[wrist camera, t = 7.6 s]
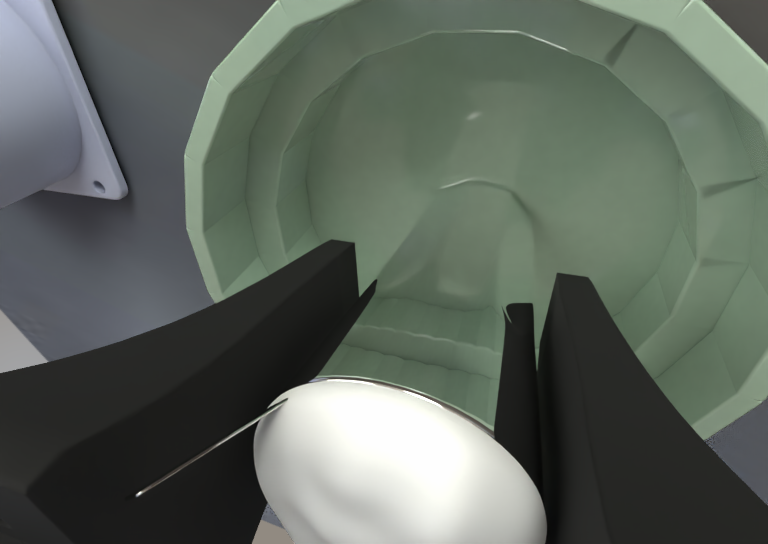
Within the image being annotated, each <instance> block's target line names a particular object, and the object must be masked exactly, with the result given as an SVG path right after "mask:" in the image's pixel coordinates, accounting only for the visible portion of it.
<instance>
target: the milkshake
mask: <svg viewBox="0 0 768 544" xmlns="http://www.w3.org/2000/svg"><path fill="white" fill-rule="evenodd" d="M258 420H260V421H259V423H258V425H257V428H256V431H255V436H254V462H255V469H256V474H257V478H258V481H259V485H260V487H261V490H262V492H263V494H264V496H265V498H266V500H267V502H268V503H269V505H270V506H271V508H272V510H273V511H274V513H275V514H276V516H277V517H278V519H279V520H280V522H281V523H282V525H283V527H284V528H285V530H286V531H287V533H288V535H289V536H290V538H291V539H292V541H293V542H294V543H295V544H545V542H546V535H547V520H546V514H545V506H544V484H543V465H542V446H541V428H540V410H539V392H538V378H537V367H536V355H535V339H534V221H533V219H532V218H531V216H530V215H529V214H528V213H527V212H526V210H525V209H524V208H523V207H522V206H521V204H520V203H519V202H518V201H517V199H516V198H515V197H514V196H513V195H512V193H511V192H509V191H505V190H501V189H498V188H494V187H491V186H487V185H484V184H480V183H477V182H471V183H468V184H465V185H462V186H459V187H456V188H453V189H450V190H446V191H443V192H440V193H439V194H438V195H437V196H436V198H435V199H434V200H433V202H432V203H431V204H430V206H429V207H428V208H427V210H426V211H425V212H424V214H423V215H422V216H421V218H420V219H419V220H418V222H417V223H416V224H415V226H414V227H413V229H412V230H411V231H410V233H409V234H408V235H407V237H406V238H405V239H404V241H403V242H402V243H401V245H400V246H399V247H398V249H397V250H396V251H395V253H394V254H393V255H392V257H391V258H390V259H389V261H388V262H387V263H386V265H385V266H384V267H383V269H382V270H381V271H380V272H379V274H378V275H377V276H376V278H375V279H374V280H373V281H372V283H371V284H370V285H369V286H368V288H367V289H366V290H365V291H364V292H363V294H362V295H361V296H360V297H359V298H358V299H357V301H356V302H355V303H354V304H353V305H352V306H351V308H350V309H349V310H348V311H347V312H346V313H345V315H344V316H343V317H342V318H341V319H340V320H339V322H338V323H337V324H336V325H335V326H334V328H333V329H332V330H331V331H330V333H329V334H328V335H327V336H326V337H325V339H324V340H323V341H322V342H321V343H320V345H319V346H318V347H317V348H316V349H315V351H314V352H313V353H312V354H311V356H310V357H309V358H308V359H307V360H306V362H305V363H304V364H303V365H302V366H301V368H300V369H299V370H298V371H297V373H296V374H295V375H294V376H293V377H292V379H291V380H290V381H289V382H288V384H287V385H286V386H285V387H284V388H283V390H282V391H281V392H280V393H279V395H278V396H277V397H276V398H275V400H274V401H273V402H272V403H271V404H270V405H269V407H268V408H267V409H266V410H264V411H262V412H261V413H259V414H258V415H256V416H254V417H253V418H251V419H250V420H248V421H246V422H245V423H243V424H242V425H240V426H238V427H237V428H235V429H234V430H232V431H230V432H229V433H227V434H226V435H224V436H222V437H221V438H219V439H218V440H216V441H214V442H213V443H211V444H210V445H208V446H206V447H205V448H203V449H201V450H200V451H198V452H197V453H195V454H193V455H192V456H190V457H189V458H187V459H185V460H184V461H182V462H181V463H179V464H177V465H176V466H174V467H173V468H171V469H169V470H168V471H166V472H165V473H163V474H161V475H160V476H158V477H157V478H155V479H153V480H152V481H150V482H149V483H147V484H145V485H144V486H142V487H140V488H139V489H137V490H136V491H134V492H132V493H131V494H129V495H128V496H126V497H125V501H130V500H132V499H135V498H137V497H139V496H140V495H142V494H144V493H145V492H147V491H148V490H150V489H151V488H153V487H155V486H156V485H158V484H159V483H161V482H162V481H164V480H166V479H167V478H169V477H170V476H172V475H173V474H175V473H177V472H178V471H180V470H181V469H183V468H184V467H186V466H188V465H189V464H191V463H192V462H194V461H195V460H197V459H199V458H200V457H202V456H203V455H205V454H206V453H208V452H210V451H211V450H213V449H214V448H216V447H217V446H219V445H221V444H222V443H224V442H225V441H227V440H228V439H230V438H232V437H233V436H235V435H236V434H238V433H239V432H241V431H243V430H244V429H246V428H247V427H249V426H250V425H252V424H254V423H255V422H257V421H258Z"/></svg>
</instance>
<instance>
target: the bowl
mask: <svg viewBox="0 0 768 544" xmlns="http://www.w3.org/2000/svg"><path fill="white" fill-rule="evenodd" d="M184 174H185V207H186V227H187V233H188V236H189V238H190V241H191V244H192V247H193V250H194V253H195V256H196V259H197V262H198V265H199V268H200V271H201V274H202V276H203V279H204V282H205V285H206V288H207V291H208V292H209V295H210V296H211V298H212V299H213V301H214V302H215V304H216V303H218V302H220V301H222V300H224V299H226V298H228V297H230V296H232V295H233V294H235V293H237V292H239V291H241V290H243V289H245V288H247V287H248V286H250V285H252V284H254V283H256V282H258V281H260V280H262V279H263V278H265V277H267V276H269V275H270V274H272V273H274V272H275V271H277V270H279V269H280V268H282V267H284V266H286V265H287V264H289V263H291V262H292V261H294V260H296V259H297V258H299V257H301V256H302V255H304V254H306V253H307V252H309V251H311V250H313V249H314V248H316V247H318V246H319V245H321V244H323V243H325V242H327V241H329V240H331V239H333V240H340V241H347V242H353V243H355V251H356V263H357V275H358V287H359V297H360V296H361V295H362V294H363V292H364V291H365V290H366V289H367V288H368V286H369V285H370V284H371V283H372V281H373V280H374V279H375V278H376V276H377V275H378V274H379V272H380V271H381V270H382V269H383V267H384V266H385V265H386V263H387V262H388V261H389V259H390V258H391V257H392V255H393V254H394V253H395V251H396V250H397V249H398V247H399V246H400V245H401V243H402V242H403V241H404V239H405V238H406V237H407V235H408V234H409V233H410V231H411V230H412V229H413V227H414V226H415V224H416V223H417V222H418V220H419V219H420V218H421V216H422V215H423V214H424V212H425V211H426V210H427V208H428V207H429V206H430V204H431V203H432V202H433V200H434V199H435V198H436V196H437V195H438V194H439V193H440V192H443V191H446V190H450V189H453V188H456V187H459V186H462V185H465V184H468V183H471V182H477V183H480V184H484V185H487V186H491V187H494V188H498V189H501V190H505V191H509V192H511V193H512V195H513V196H514V197H515V198H516V199H517V201H518V202H519V203H520V204H521V206H522V207H523V208H524V209H525V210H526V212H527V213H528V214H529V215H530V216H531V218H532V219H533V221H534V339H535V355H536V367H537V366H538V356H539V346H540V339H541V335H542V331H543V327H544V323H545V319H546V315H547V311H548V307H549V303H550V299H551V295H552V291H553V287H554V283H555V279H556V275H557V273H564V274H571V275H578V276H585V277H589V279H590V280H591V281H592V283H593V285H594V287H595V288H596V290H597V292H598V294H599V296H600V298H601V300H602V301H603V303H604V305H605V307H606V308H607V310H608V312H609V314H610V315H611V317H612V319H613V320H614V322H615V324H616V325H617V327H618V328H619V330H620V332H621V333H622V335H623V336H624V338H625V339H626V341H627V342H628V344H629V345H630V347H631V348H632V350H633V352H634V353H635V355H636V356H637V358H638V359H639V360H640V362H641V363H642V365H643V366H644V368H645V369H646V370H647V372H648V373H649V374H650V376H651V377H652V378H653V380H654V381H655V382H656V384H657V385H658V386H659V388H660V389H661V390H662V392H663V393H664V394H665V396H666V397H667V398H668V399H669V401H670V402H671V403H672V404H673V406H674V407H675V408H676V409H677V411H678V412H679V413H680V414H681V415H682V417H683V418H684V419H685V420H686V421H687V422H688V423H689V425H690V426H691V427H692V428H693V429H694V430H695V431H696V433H697V434H698V435H699V436H700V437H701V438H702V439H703V440H704V441H705V440H706V439H708V438H709V437H711V436H712V435H714V434H715V433H717V432H718V431H720V430H722V429H723V428H725V427H726V426H728V425H729V424H731V423H732V422H734V421H735V420H737V419H738V418H740V417H742V416H743V415H745V414H746V413H748V412H749V411H751V410H752V409H754V408H755V407H757V406H758V405H760V404H761V403H762V401H765V399H766V398H767V397H768V64H767V63H766V62H765V61H764V60H763V59H762V58H761V57H760V56H759V55H758V54H757V53H756V52H755V51H754V50H753V49H752V48H751V47H749V46H748V45H747V44H746V43H745V42H744V41H743V40H742V39H741V38H740V37H739V36H738V35H737V34H736V33H735V32H734V31H733V30H732V29H731V28H730V27H729V26H728V25H727V24H726V23H725V22H724V21H723V20H722V19H721V18H720V17H719V16H718V15H717V14H716V13H715V12H714V11H713V10H712V9H711V8H710V7H709V6H708V5H707V4H706V3H705V2H704V1H703V0H276V1H275V2H274V3H273V5H272V6H271V7H270V8H269V9H268V10H267V11H266V12H265V14H264V15H263V16H262V17H261V18H260V19H259V20H258V21H257V23H256V24H255V25H254V26H253V27H252V28H251V29H250V31H249V32H248V33H247V34H246V35H245V36H244V37H243V38H242V40H241V41H240V42H239V43H238V44H237V45H236V46H235V47H234V49H233V50H232V51H231V52H230V53H229V54H228V55H227V56H226V58H225V59H224V60H223V61H222V62H221V63H220V64H219V66H218V67H217V68H216V69H215V70H214V71H213V73H212V75H211V76H210V79H209V82H208V85H207V88H206V91H205V94H204V96H203V99H202V102H201V105H200V108H199V111H198V114H197V117H196V120H195V123H194V126H193V129H192V132H191V135H190V138H189V141H188V144H187V147H186V150H185V155H184Z"/></svg>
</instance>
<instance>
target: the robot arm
mask: <svg viewBox="0 0 768 544" xmlns="http://www.w3.org/2000/svg"><path fill="white" fill-rule="evenodd" d="M40 190H48V191H55V192H63V193H70V194H77V195H84V196H91V197H98V198H105V199H112V200H120V199H121V198H123V197H125V196H126V195H127V194H128V188H127V184H126V182H125V179H124V177H123V174H122V172H121V169H120V167H119V165H118V162H117V160H116V157H115V155H114V152H113V150H112V147H111V145H110V142H109V140H108V137H107V135H106V133H105V130H104V128H103V125H102V123H101V120H100V118H99V115H98V113H97V110H96V108H95V105H94V103H93V101H92V98H91V96H90V93H89V91H88V88H87V86H86V83H85V81H84V78H83V76H82V73H81V71H80V69H79V66H78V64H77V61H76V59H75V56H74V54H73V51H72V49H71V46H70V44H69V41H68V39H67V37H66V34H65V32H64V29H63V27H62V24H61V22H60V19H59V17H58V14H57V12H56V10H55V7H54V5H53V2H52V0H0V209H2V208H4V207H6V206H8V205H10V204H13V203H15V202H17V201H19V200H21V199H23V198H25V197H27V196H29V195H31V194H34V193H36V192H38V191H40ZM358 298H359V287H358V275H357V263H356V251H355V243H353V242H347V241H340V240H333V239H331V240H329V241H327V242H325V243H323V244H321V245H319V246H318V247H316V248H314V249H313V250H311V251H309V252H307V253H306V254H304V255H302V256H301V257H299V258H297V259H296V260H294V261H292V262H291V263H289V264H287V265H286V266H284V267H282V268H280V269H279V270H277V271H275V272H274V273H272V274H270V275H269V276H267V277H265V278H263V279H262V280H260V281H258V282H256V283H254V284H252V285H250V286H248V287H247V288H245V289H243V290H241V291H239V292H237V293H235V294H233V295H232V296H230V297H228V298H226V299H224V300H222V301H220V302H218V303H216V304H214V305H212V306H209V307H207V308H205V309H203V310H201V311H198V312H196V313H194V314H191V315H189V316H187V317H185V318H182V319H180V320H177V321H175V322H173V323H170V324H167V325H165V326H162V327H159V328H156V329H154V330H151V331H148V332H145V333H143V334H140V335H137V336H134V337H131V338H129V339H126V340H123V341H120V342H117V343H114V344H111V345H107V346H104V347H101V348H98V349H94V350H91V351H88V352H84V353H81V354H77V355H73V356H70V357H66V358H63V359H59V360H55V361H51V362H47V363H43V364H39V365H35V366H30V367H26V368H22V369H17V370H13V371H8V372H4V373H0V544H252V541H253V539H254V536H255V533H256V531H257V528H258V525H259V523H260V520H261V518H262V515H263V512H264V510H265V507H266V505H267V503H268V502H267V500H266V498H265V496H264V494H263V492H262V490H261V487H260V485H259V481H258V478H257V474H256V469H255V462H254V436H255V431H256V428H257V425H258V423H259V421H260V420H258V421H257V422H255V423H254V424H252V425H250V426H249V427H247V428H246V429H244V430H243V431H241V432H239V433H238V434H236V435H235V436H233V437H232V438H230V439H228V440H227V441H225V442H224V443H222V444H221V445H219V446H217V447H216V448H214V449H213V450H211V451H210V452H208V453H206V454H205V455H203V456H202V457H200V458H199V459H197V460H195V461H194V462H192V463H191V464H189V465H188V466H186V467H184V468H183V469H181V470H180V471H178V472H177V473H175V474H173V475H172V476H170V477H169V478H167V479H166V480H164V481H162V482H161V483H159V484H158V485H156V486H155V487H153V488H151V489H150V490H148V491H147V492H145V493H144V494H142V495H140V496H139V497H137V498H135V499H132V500H130V501H125V497H126V496H128V495H129V494H131V493H132V492H134V491H136V490H137V489H139V488H140V487H142V486H144V485H145V484H147V483H149V482H150V481H152V480H153V479H155V478H157V477H158V476H160V475H161V474H163V473H165V472H166V471H168V470H169V469H171V468H173V467H174V466H176V465H177V464H179V463H181V462H182V461H184V460H185V459H187V458H189V457H190V456H192V455H193V454H195V453H197V452H198V451H200V450H201V449H203V448H205V447H206V446H208V445H210V444H211V443H213V442H214V441H216V440H218V439H219V438H221V437H222V436H224V435H226V434H227V433H229V432H230V431H232V430H234V429H235V428H237V427H238V426H240V425H242V424H243V423H245V422H246V421H248V420H250V419H251V418H253V417H254V416H256V415H258V414H259V413H261V412H262V411H264V410H266V409H267V408H268V407H269V405H270V404H271V403H272V402H273V401H274V400H275V398H276V397H277V396H278V395H279V393H280V392H281V391H282V390H283V388H284V387H285V386H286V385H287V384H288V382H289V381H290V380H291V379H292V377H293V376H294V375H295V374H296V373H297V371H298V370H299V369H300V368H301V366H302V365H303V364H304V363H305V362H306V360H307V359H308V358H309V357H310V356H311V354H312V353H313V352H314V351H315V349H316V348H317V347H318V346H319V345H320V343H321V342H322V341H323V340H324V339H325V337H326V336H327V335H328V334H329V333H330V331H331V330H332V329H333V328H334V326H335V325H336V324H337V323H338V322H339V320H340V319H341V318H342V317H343V316H344V315H345V313H346V312H347V311H348V310H349V309H350V308H351V306H352V305H353V304H354V303H355V302H356V301H357V299H358ZM537 378H538V392H539V410H540V428H541V446H542V465H543V484H544V506H545V514H546V520H547V535H546V542H545V544H768V506H767V505H766V504H765V503H764V502H763V501H762V500H761V499H760V498H759V497H758V496H757V495H756V494H755V493H754V492H753V491H752V490H751V489H750V488H749V487H748V486H747V485H746V484H745V483H744V482H743V481H742V480H741V479H740V478H739V477H738V476H737V475H736V474H735V473H734V472H733V471H732V470H731V469H730V468H729V467H728V466H727V465H726V464H725V463H724V462H723V461H722V460H721V459H720V458H719V457H718V455H717V454H716V453H715V452H714V451H713V450H712V449H711V448H710V447H709V446H708V445H707V444H706V443H705V442H704V440H703V439H702V438H701V437H700V436H699V435H698V434H697V433H696V431H695V430H694V429H693V428H692V427H691V426H690V425H689V423H688V422H687V421H686V420H685V419H684V418H683V417H682V415H681V414H680V413H679V412H678V411H677V409H676V408H675V407H674V406H673V404H672V403H671V402H670V401H669V399H668V398H667V397H666V396H665V394H664V393H663V392H662V390H661V389H660V388H659V386H658V385H657V384H656V382H655V381H654V380H653V378H652V377H651V376H650V374H649V373H648V372H647V370H646V369H645V368H644V366H643V365H642V363H641V362H640V360H639V359H638V358H637V356H636V355H635V353H634V352H633V350H632V348H631V347H630V345H629V344H628V342H627V341H626V339H625V338H624V336H623V335H622V333H621V332H620V330H619V328H618V327H617V325H616V324H615V322H614V320H613V319H612V317H611V315H610V314H609V312H608V310H607V308H606V307H605V305H604V303H603V301H602V300H601V298H600V296H599V294H598V292H597V290H596V288H595V287H594V285H593V283H592V281H591V280H590V279H589V277H585V276H578V275H571V274H564V273H557V275H556V279H555V283H554V287H553V291H552V295H551V299H550V303H549V307H548V311H547V315H546V319H545V323H544V327H543V331H542V335H541V339H540V346H539V356H538V366H537Z"/></svg>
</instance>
